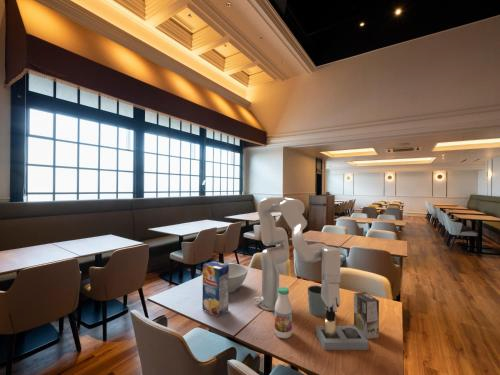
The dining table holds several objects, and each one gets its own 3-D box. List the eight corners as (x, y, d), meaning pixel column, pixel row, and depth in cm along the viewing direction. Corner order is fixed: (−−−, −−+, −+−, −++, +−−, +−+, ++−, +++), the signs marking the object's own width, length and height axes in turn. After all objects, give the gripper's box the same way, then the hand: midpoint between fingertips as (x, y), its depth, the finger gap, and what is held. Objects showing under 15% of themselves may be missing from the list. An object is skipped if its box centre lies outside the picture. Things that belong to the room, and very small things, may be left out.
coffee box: (379, 337, 101) (379, 300, 101) (366, 339, 100) (367, 302, 100) (365, 325, 110) (365, 291, 110) (353, 327, 109) (353, 292, 109)
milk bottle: (273, 328, 107) (273, 285, 107) (289, 328, 107) (289, 285, 107) (276, 339, 99) (276, 293, 99) (293, 338, 100) (294, 292, 100)
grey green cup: (327, 309, 125) (327, 286, 125) (327, 319, 115) (327, 294, 115) (308, 305, 128) (308, 284, 128) (306, 315, 118) (306, 291, 118)
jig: (324, 349, 93) (324, 339, 93) (316, 332, 104) (316, 323, 104) (368, 349, 93) (368, 339, 93) (355, 332, 104) (355, 323, 104)
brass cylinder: (326, 344, 96) (327, 322, 96) (323, 337, 101) (323, 316, 101) (337, 344, 96) (337, 322, 96) (333, 337, 101) (333, 316, 101)
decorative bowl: (255, 286, 153) (255, 268, 153) (230, 303, 130) (231, 281, 130) (223, 277, 167) (223, 260, 167) (196, 291, 144) (197, 272, 145)
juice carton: (202, 309, 123) (202, 264, 123) (212, 303, 129) (212, 261, 129) (218, 316, 116) (219, 269, 116) (228, 310, 122) (228, 265, 122)
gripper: (316, 270, 106) (316, 310, 106) (328, 283, 91) (328, 330, 91) (332, 270, 106) (332, 310, 106) (347, 283, 91) (346, 330, 91)
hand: (330, 319), depth 98 cm, fingers closed
